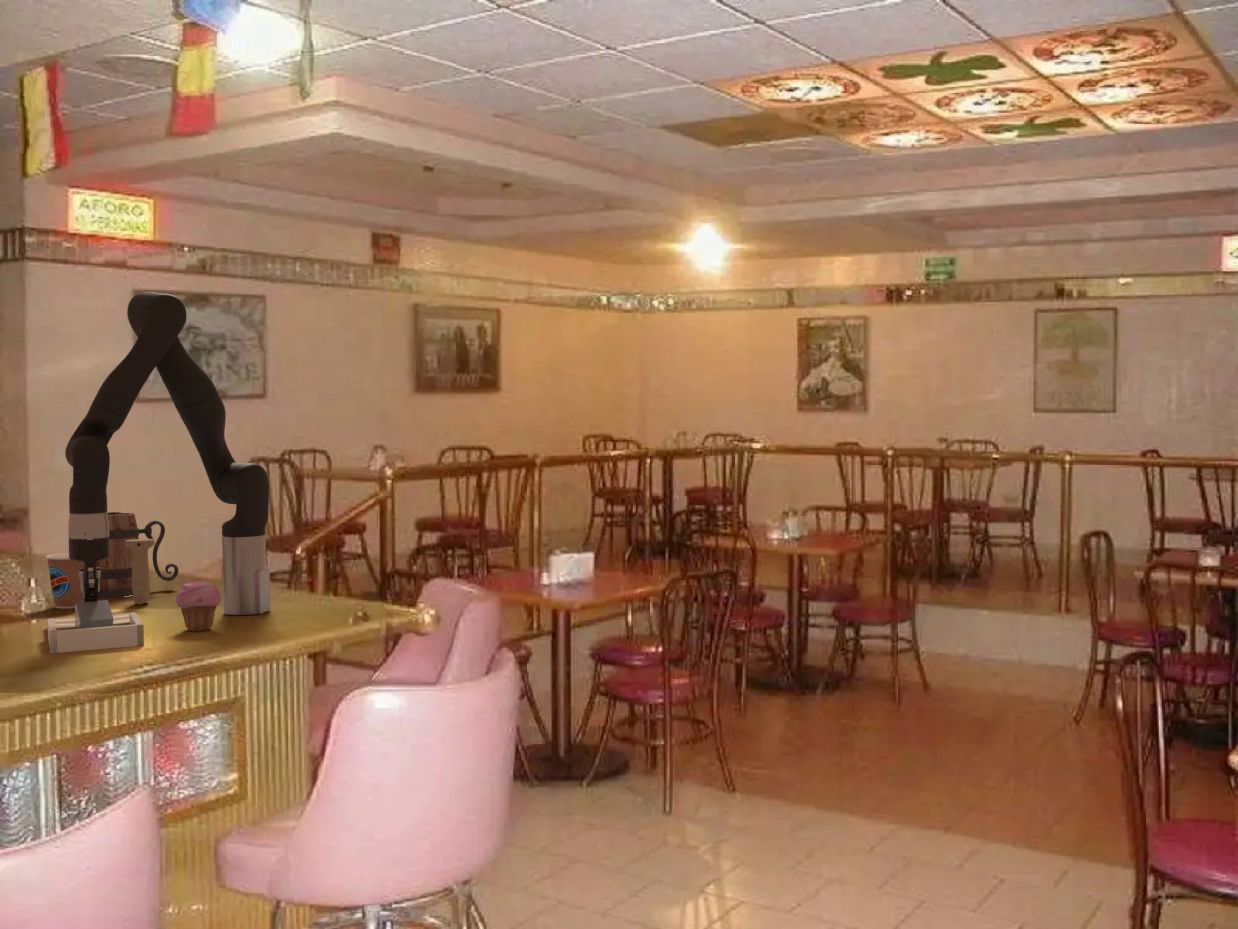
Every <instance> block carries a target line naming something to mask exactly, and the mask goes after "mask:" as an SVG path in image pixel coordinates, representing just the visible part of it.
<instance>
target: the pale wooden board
mask: <svg viewBox="0 0 1238 929" xmlns="http://www.w3.org/2000/svg"><path fill="white" fill-rule="evenodd" d="M129 613H130V612H121V613H112V616H113V626H122V625H130V618H129ZM53 618H54V617H52V618H51V617H50V618H46V621H47V622H46V624H47V626H48V619H53ZM54 620H55V625H56V630H57V631H58V630H71V629H76V627H75V616H65V617H55V618H54ZM47 626H46V627H47Z"/></svg>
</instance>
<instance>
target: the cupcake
mask: <svg viewBox="0 0 1238 929" xmlns="http://www.w3.org/2000/svg"><path fill="white" fill-rule="evenodd" d="M175 597H176V598H175V603H176V605H177V606H178V607H179V608H180V610H181V615H182V618H183V620H184V624H185V625H184V626H185V627H186V629H188V631H189V632H196V633H197V632H202V631H208V630H209V629H211V628H212V627H213V625H214V620H215V613H216V609H217V606H219V604H221V592H220V590H219V588H218V587H217V586H216V585H215V584H214V583H211V582H203V581H199V580H198V581H197V580H195V581H193V582H189V583H188V582H187V583H184V584H183V585H182V587H181V589H180V590H179V592H178V593H176V596H175Z"/></svg>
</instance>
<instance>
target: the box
mask: <svg viewBox="0 0 1238 929" xmlns="http://www.w3.org/2000/svg"><path fill="white" fill-rule="evenodd" d="M128 613H129V618H130V625H122V626H109V627H97V628H84V629H71V630H58V631H57V630H56V625H55V620H54V617H52V618H53V619H50V618H47V619H48V629H47V640H48V646H49V654H59V653H72V652H73V653H74V652H84V651H86V652H87V651H95V650H107V649H118V648H119V649H121V648H129V647H130V648H131V647H132V648H133V647H143V646H145V630H144V627H145V626H144V623H143V622H142V620H141V618H140V617H139V615H138V614H137V613H136V612H128Z"/></svg>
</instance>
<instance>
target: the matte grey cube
mask: <svg viewBox="0 0 1238 929" xmlns="http://www.w3.org/2000/svg"><path fill="white" fill-rule="evenodd" d="M74 609H75V610H74V617H75V627H76V629H84V628H97V627H109V626H113V616H112V614H113V613H112V610H111V606H110V602H109V599H100V600H98V601H88V602H76V603H75V608H74Z"/></svg>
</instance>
